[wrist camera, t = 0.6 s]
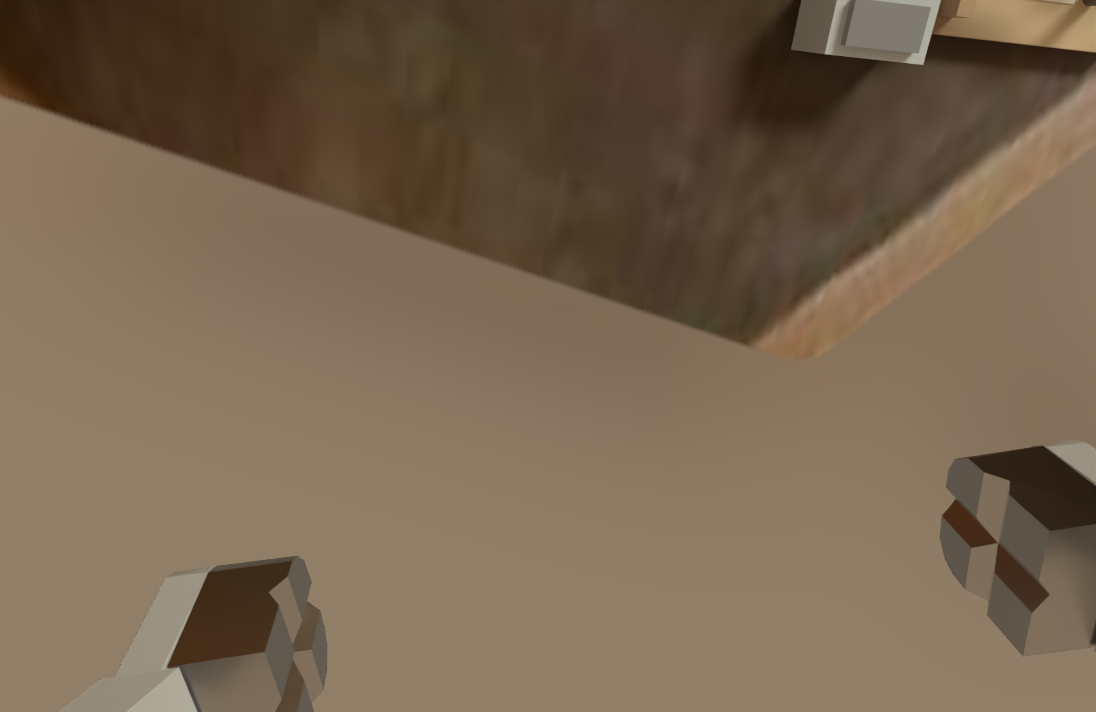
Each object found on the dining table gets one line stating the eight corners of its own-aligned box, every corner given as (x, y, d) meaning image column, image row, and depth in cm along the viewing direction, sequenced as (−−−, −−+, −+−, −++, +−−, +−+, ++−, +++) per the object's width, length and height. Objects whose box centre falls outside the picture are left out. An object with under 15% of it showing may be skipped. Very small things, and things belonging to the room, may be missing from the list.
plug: (803, -13, 47) (845, -15, 42) (895, -2, 48) (947, -3, 43) (790, 49, 48) (829, 54, 43) (880, 59, 49) (928, 65, 44)
